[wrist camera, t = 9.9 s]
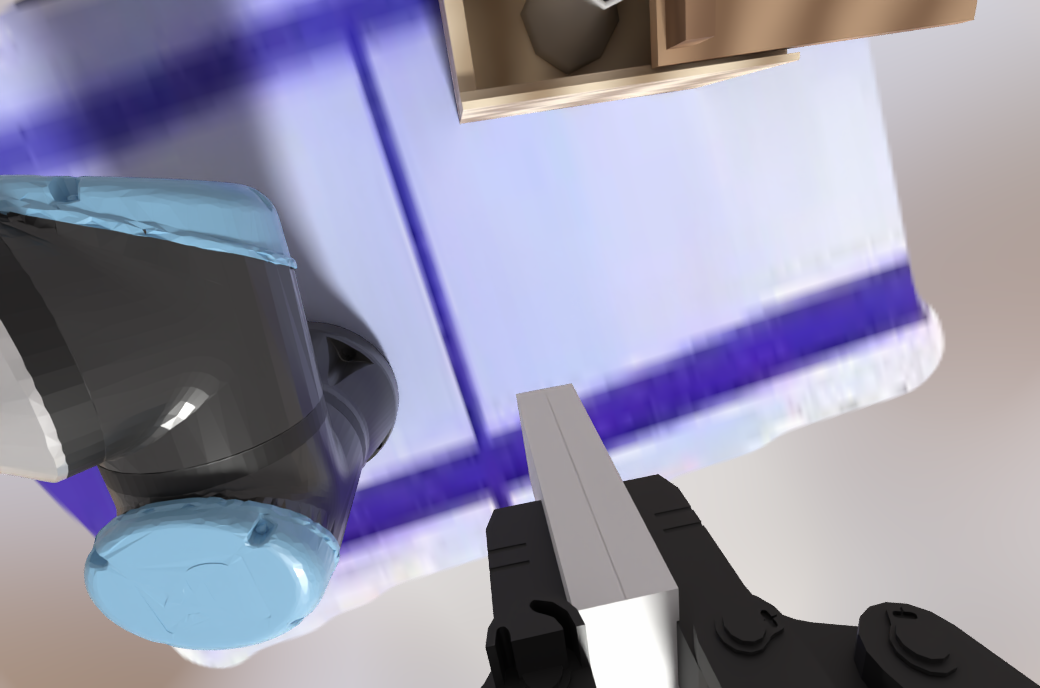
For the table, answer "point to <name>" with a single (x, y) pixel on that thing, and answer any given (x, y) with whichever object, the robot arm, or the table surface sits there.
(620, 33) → the box
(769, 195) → the table surface
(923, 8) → the lid
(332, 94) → the table surface
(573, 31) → the flask
